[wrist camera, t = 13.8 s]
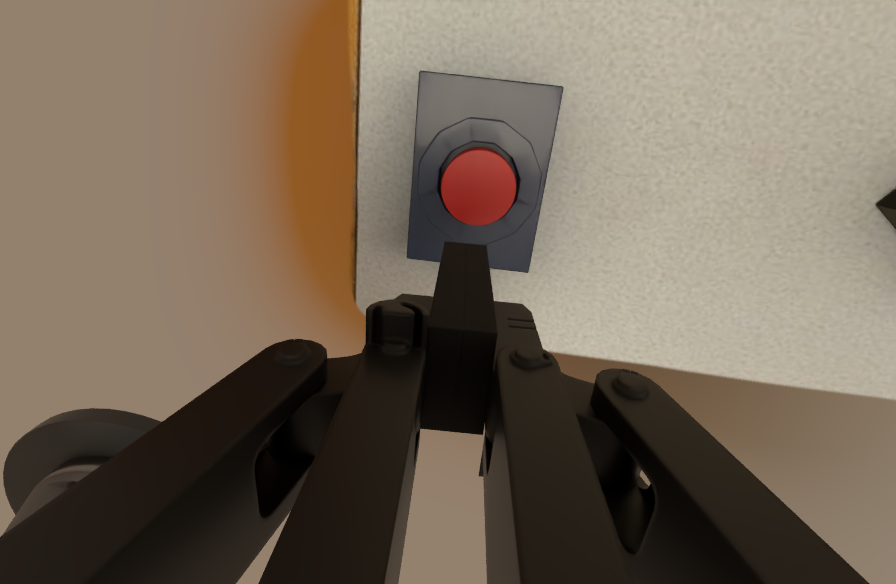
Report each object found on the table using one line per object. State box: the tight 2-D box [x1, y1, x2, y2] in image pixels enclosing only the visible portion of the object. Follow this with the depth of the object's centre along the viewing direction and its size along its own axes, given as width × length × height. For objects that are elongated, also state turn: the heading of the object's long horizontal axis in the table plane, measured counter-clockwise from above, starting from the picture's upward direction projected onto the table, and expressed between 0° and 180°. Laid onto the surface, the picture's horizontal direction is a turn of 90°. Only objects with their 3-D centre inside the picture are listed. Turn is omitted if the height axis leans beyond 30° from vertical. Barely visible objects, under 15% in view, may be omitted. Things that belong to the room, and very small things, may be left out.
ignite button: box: [441, 147, 516, 226], centre depth 24 cm, size 4×4×2 cm
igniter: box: [407, 71, 563, 273], centre depth 26 cm, size 11×8×4 cm
